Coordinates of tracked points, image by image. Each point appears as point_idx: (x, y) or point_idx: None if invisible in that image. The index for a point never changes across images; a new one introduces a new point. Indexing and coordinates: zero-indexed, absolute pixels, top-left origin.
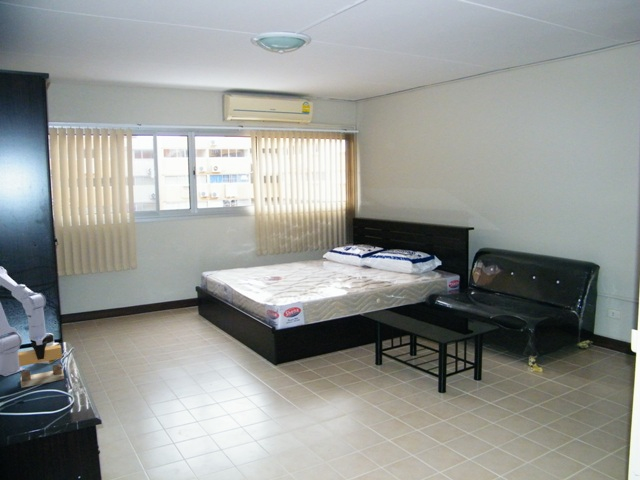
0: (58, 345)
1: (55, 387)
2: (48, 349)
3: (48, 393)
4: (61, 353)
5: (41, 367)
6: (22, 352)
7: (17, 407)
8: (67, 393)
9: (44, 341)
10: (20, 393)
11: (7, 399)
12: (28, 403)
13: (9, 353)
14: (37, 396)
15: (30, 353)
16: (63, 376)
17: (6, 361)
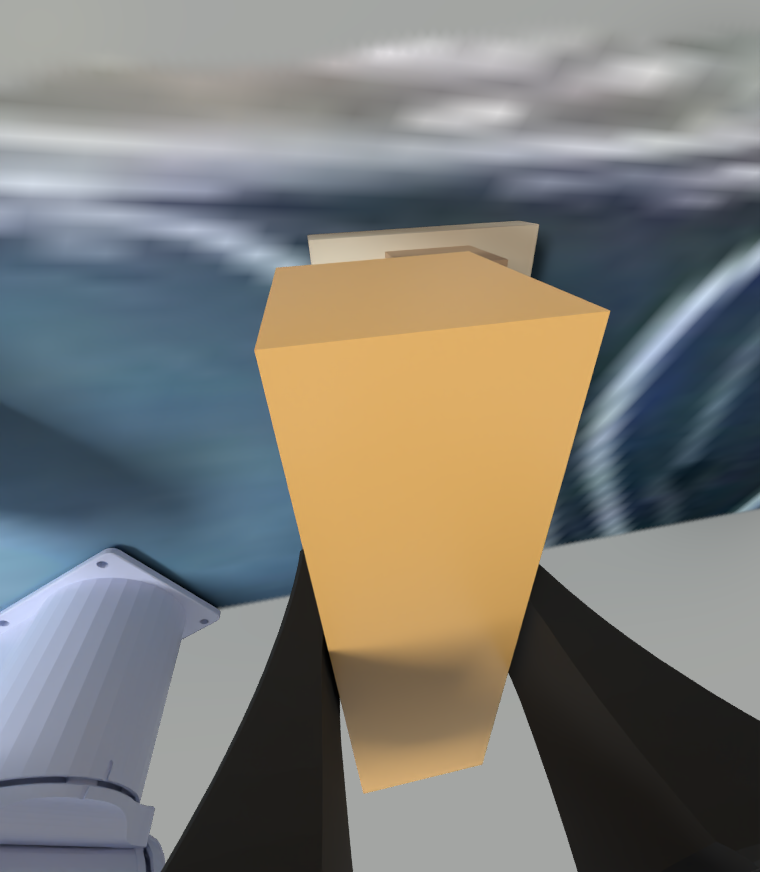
0: (323, 399)
1: (649, 301)
2: (513, 567)
3: (711, 347)
4: (510, 273)
5: (66, 443)
6: (394, 769)
7: (733, 479)
8: None
9: (327, 825)
10: (562, 496)
11: (591, 534)
12: (739, 440)
13: (106, 786)
14: (692, 408)
15: (493, 706)
16: (533, 230)
17: (160, 714)
